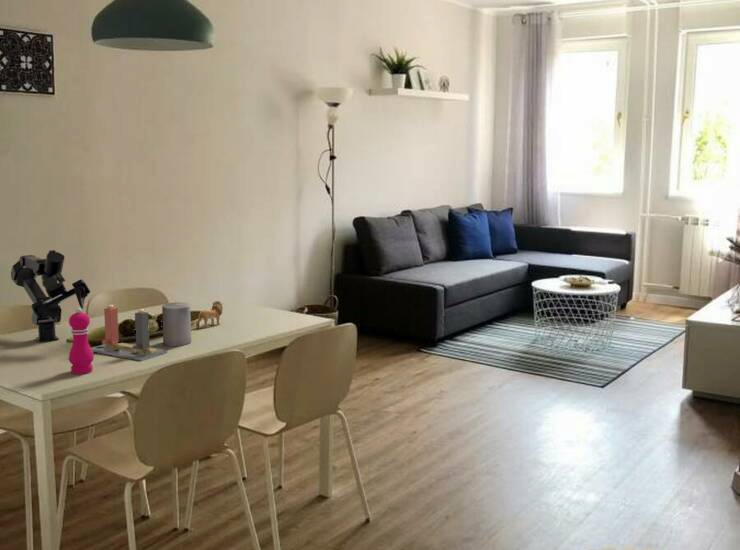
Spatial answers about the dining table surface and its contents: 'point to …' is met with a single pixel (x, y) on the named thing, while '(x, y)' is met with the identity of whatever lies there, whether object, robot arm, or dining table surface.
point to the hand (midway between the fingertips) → (69, 315)
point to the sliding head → (111, 326)
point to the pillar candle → (176, 324)
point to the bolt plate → (128, 351)
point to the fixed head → (141, 330)
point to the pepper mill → (80, 344)
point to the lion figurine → (210, 314)
